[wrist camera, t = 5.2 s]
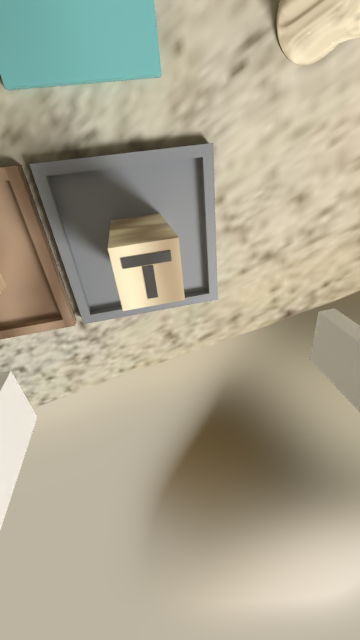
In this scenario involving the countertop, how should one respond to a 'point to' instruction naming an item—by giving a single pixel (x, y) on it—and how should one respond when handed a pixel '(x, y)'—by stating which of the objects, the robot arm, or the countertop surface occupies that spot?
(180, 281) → the letter block
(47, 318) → the walnut tray
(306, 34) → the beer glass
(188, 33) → the countertop surface
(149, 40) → the teal mat
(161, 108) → the countertop surface
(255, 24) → the countertop surface
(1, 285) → the plain block
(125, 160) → the grey tray
